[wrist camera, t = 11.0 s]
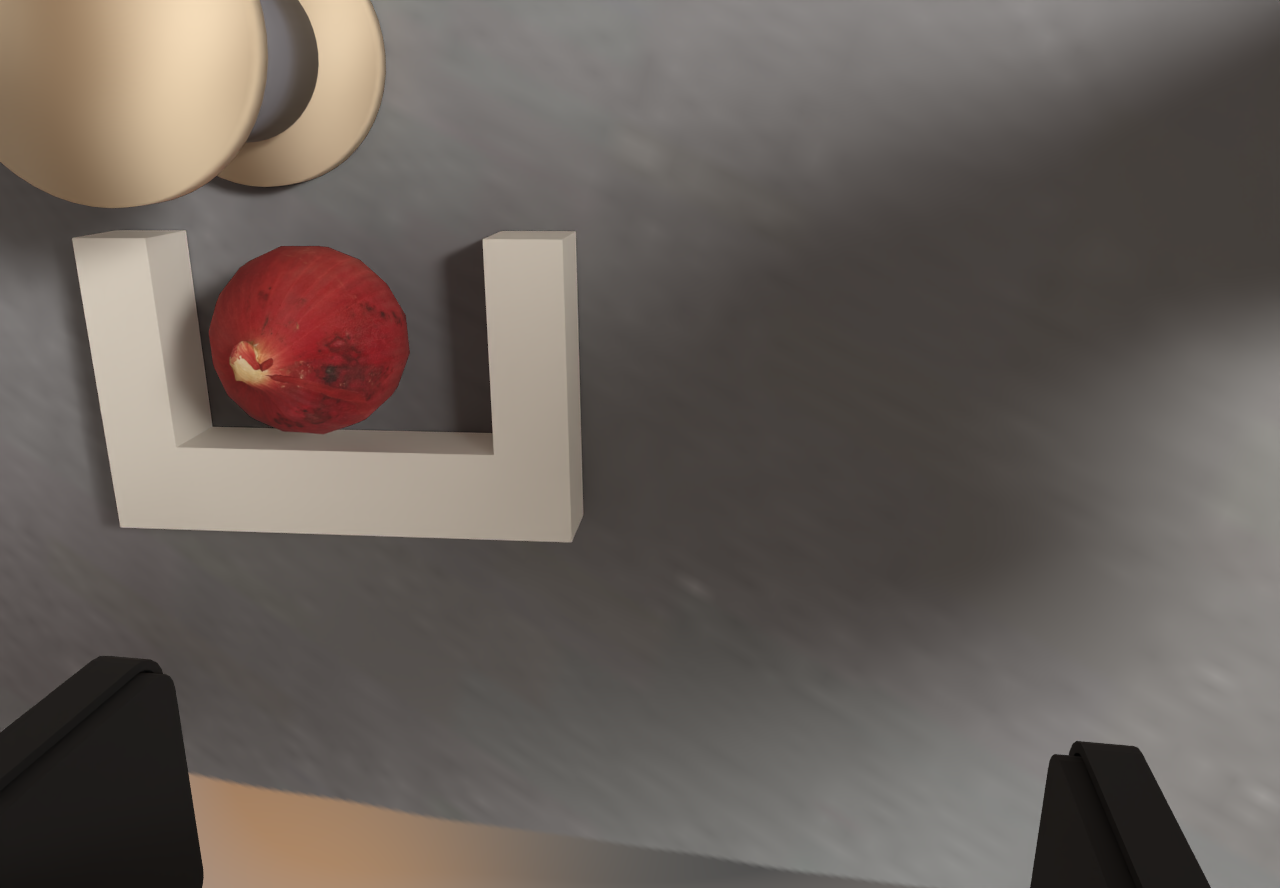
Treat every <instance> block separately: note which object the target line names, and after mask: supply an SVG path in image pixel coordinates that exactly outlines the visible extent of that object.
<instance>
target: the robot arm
mask: <svg viewBox="0 0 1280 888" xmlns="http://www.w3.org/2000/svg"><path fill="white" fill-rule="evenodd" d="M202 885H203V866H202V859H201V853H200V847H199V840H198V833H197V827H196V821H195V814H194V808H193V801H192V795H191V788H190V782H189V775H188V768H187V762H186V755H185V749H184V743H183V736H182V730H181V723H180V717H179V710H178V704H177V697H176V691H175V686H174V683H173V680H172V679H171V678H170V676H168V675H166V674H163V673H162V669H161V668H160V666H159V665H158V664H157V663H156V662H154V661H152V660H148V659H137V658H125V657H114V656H100V657H98V658H96V659H94V660H92V661H91V662H90V663H88V664H87V665H86V666H85V667H83V668H82V669H81V670H80V671H78V672H77V673H76V674H74V675H73V676H72V677H71V678H69V679H68V680H67V681H65V682H64V683H63V684H62V685H60V686H59V687H58V688H57V689H55V690H54V691H53V692H51V693H50V694H49V695H48V696H46V697H45V698H44V699H43V700H41V701H40V702H39V703H37V704H36V705H35V706H34V707H32V708H31V709H30V710H28V711H27V712H26V713H25V714H23V715H22V716H21V717H20V718H18V719H17V720H16V721H14V722H13V723H12V724H11V725H9V726H8V727H7V728H6V729H4V730H3V731H2V732H0V888H202ZM1030 888H1211V887H1210V885H1209V883H1208V881H1207V879H1206V877H1205V875H1204V873H1203V871H1202V869H1201V867H1200V866H1199V864H1198V862H1197V860H1196V858H1195V856H1194V854H1193V852H1192V850H1191V848H1190V846H1189V844H1188V842H1187V840H1186V838H1185V836H1184V834H1183V832H1182V830H1181V828H1180V826H1179V824H1178V823H1177V821H1176V819H1175V817H1174V815H1173V813H1172V811H1171V809H1170V807H1169V805H1168V803H1167V801H1166V799H1165V797H1164V795H1163V793H1162V791H1161V789H1160V787H1159V785H1158V783H1157V781H1156V780H1155V778H1154V776H1153V774H1152V772H1151V770H1150V768H1149V766H1148V764H1147V762H1146V760H1145V758H1144V756H1143V754H1142V753H1141V751H1140V750H1139V749H1138V748H1137V747H1134V746H1126V745H1115V744H1104V743H1092V742H1081V741H1076V742H1075V743H1073V745H1072V747H1071V749H1070V752H1069V755H1058V754H1054V755H1053V756H1052V757H1051V759H1050V762H1049V767H1048V773H1047V780H1046V787H1045V793H1044V800H1043V807H1042V813H1041V820H1040V827H1039V833H1038V840H1037V847H1036V853H1035V860H1034V867H1033V873H1032V880H1031V887H1030Z"/></svg>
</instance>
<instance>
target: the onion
mask: <svg viewBox="0 0 1280 888" xmlns="http://www.w3.org/2000/svg"><path fill="white" fill-rule="evenodd" d="M209 338H210V345H211V352H212V359H213V366H214V368H215V370H216V372H217V374H218V376H219V378H220V380H221V382H222V384H223V386H224V389H225V391H226V393H227V395H228V396H229V397H230V398H231V399H232V400H233V401H235V402H236V403H237V404H238V405H239V406H240V407H241V408H242V409H243V410H244V411H245V412H246V413H247V414H248V415H249V416H251V417H252V418H254V419H256V420H258V421H260V422H263V423H265V424H267V425H269V426H272V427H274V428H276V429H279V430H281V431H283V432H300V433H313V434H326V433H329V432H332V431H335V430H338V429H341V428H344V427H347V426H350V425H353V424H356V423H358V422H361V421H363V420H365V419H367V418H368V417H369V416H370V415H371V414H372V413H373V412H374V411H375V410H376V409H377V408H378V407H379V406H381V405H382V404H383V403H384V402H385V401H386V400H387V399H388V398H389V397H390V396H391V395H392V394H393V393H394V391H395V390H396V388H397V387H398V384H399V382H400V379H401V376H402V373H403V370H404V368H405V365H406V362H407V359H408V356H409V354H410V351H409V342H408V333H407V323H406V315H405V314H404V312H403V310H402V309H401V307H400V305H399V304H398V302H397V300H396V298H395V297H394V295H393V293H392V292H391V290H390V288H389V287H388V285H387V284H386V283H385V282H384V281H383V280H382V279H381V278H380V277H379V276H378V275H376V274H375V273H374V272H373V271H372V270H371V269H370V268H369V267H367V266H366V265H365V264H364V263H363V262H362V261H361V260H359V259H356V258H354V257H351V256H349V255H346V254H344V253H341V252H339V251H336V250H334V249H331V248H329V247H321V246H280V247H278V248H276V249H274V250H272V251H270V252H268V253H266V254H263V255H261V256H259V257H257V258H255V259H253V260H251V261H249V262H247V263H246V264H245V265H243V266H242V267H241V268H239V270H238V271H237V272H236V274H235V275H234V276H233V277H232V279H231V280H230V281H229V283H228V284H227V285H226V287H225V288H224V289H223V291H222V292H221V293H220V294H219V297H218V300H217V302H216V306H215V310H214V313H213V317H212V321H211V325H210V328H209Z"/></svg>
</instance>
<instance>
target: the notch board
mask: <svg viewBox="0 0 1280 888" xmlns="http://www.w3.org/2000/svg"><path fill="white" fill-rule="evenodd" d="M72 242H73V248H74V254H75V260H76V265H77V271H78V277H79V283H80V289H81V295H82V301H83V307H84V313H85V319H86V325H87V331H88V337H89V343H90V349H91V355H92V361H93V367H94V373H95V379H96V385H97V391H98V397H99V402H100V408H101V414H102V420H103V426H104V432H105V438H106V444H107V450H108V456H109V462H110V468H111V474H112V480H113V486H114V492H115V498H116V504H117V510H118V516H119V522H120V527H122V528H152V529H182V530H212V531H242V532H272V533H302V534H333V535H363V536H393V537H423V538H453V539H483V540H513V541H543V542H572V541H573V538H574V536H575V534H576V531H577V529H578V527H579V524H580V522H581V520H582V517H583V482H582V444H581V406H580V368H579V331H578V293H577V255H576V231H500V232H498V233H496V234H493V235H491V236H489V237H487V238H484V239H483V257H484V276H485V295H486V314H487V333H488V352H489V371H490V390H491V409H492V428H493V433H468V432H424V431H379V430H335V431H332V432H329V433H326V434H313V433H300V432H283V431H281V430H279V429H276V428H245V427H213V426H212V419H211V412H210V404H209V397H208V389H207V382H206V375H205V367H204V360H203V353H202V345H201V338H200V330H199V323H198V316H197V308H196V301H195V294H194V286H193V279H192V271H191V264H190V257H189V249H188V242H187V235H186V230H115V231H110V232H104V233H98V234H93V235H87V236H81V237H75V238H72Z"/></svg>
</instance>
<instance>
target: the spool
mask: <svg viewBox="0 0 1280 888" xmlns="http://www.w3.org/2000/svg"><path fill="white" fill-rule="evenodd" d="M385 75H386V60H385V49H384V42H383V36H382V32H381V28H380V24H379V21H378V18H377V15H376V13H375V10H374V8H373V5H372V3H371V1H370V0H0V162H1V163H2V164H4V165H5V166H6V167H7V168H8V169H10V170H11V171H12V172H13V173H15V174H16V175H17V176H19V177H20V178H22V179H24V180H25V181H27V182H28V183H30V184H31V185H33V186H35V187H37V188H39V189H41V190H43V191H45V192H47V193H49V194H51V195H53V196H56V197H58V198H61V199H64V200H67V201H70V202H73V203H77V204H82V205H87V206H92V207H104V208H122V207H135V206H142V205H149V204H155V203H160V202H164V201H169V200H173V199H176V198H179V197H181V196H184V195H186V194H189V193H191V192H193V191H195V190H196V189H198V188H200V187H202V186H203V185H205V184H207V183H208V182H209V181H211V180H212V179H213V178H214V177H216V176H218V177H220V178H223V179H226V180H229V181H232V182H235V183H239V184H244V185H249V186H260V187H271V186H283V185H290V184H296V183H300V182H305V181H309V180H312V179H314V178H317V177H320V176H322V175H324V174H326V173H328V172H329V171H331V170H333V169H335V168H336V167H338V166H339V165H340V164H341V163H343V162H344V161H345V160H347V159H348V158H349V157H350V156H351V155H352V154H353V153H354V151H355V150H356V149H357V148H358V147H359V146H360V144H361V143H362V142H363V140H364V139H365V137H366V136H367V134H368V133H369V131H370V129H371V127H372V125H373V123H374V121H375V119H376V116H377V113H378V111H379V108H380V105H381V100H382V96H383V92H384V85H385Z"/></svg>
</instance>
